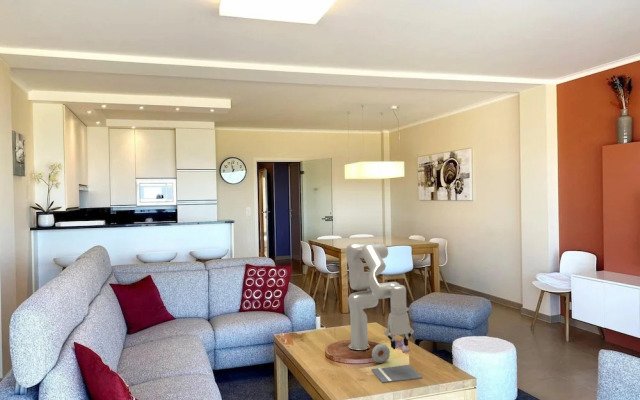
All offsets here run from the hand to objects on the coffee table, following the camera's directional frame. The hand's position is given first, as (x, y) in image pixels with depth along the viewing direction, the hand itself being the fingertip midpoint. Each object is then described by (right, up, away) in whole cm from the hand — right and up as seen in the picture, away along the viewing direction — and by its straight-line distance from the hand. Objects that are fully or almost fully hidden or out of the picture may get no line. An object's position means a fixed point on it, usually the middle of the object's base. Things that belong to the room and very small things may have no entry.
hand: (399, 347), depth 233 cm
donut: (-7, -13, +15) cm, 21 cm away
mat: (-2, -13, 0) cm, 13 cm away
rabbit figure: (0, -1, -1) cm, 1 cm away
